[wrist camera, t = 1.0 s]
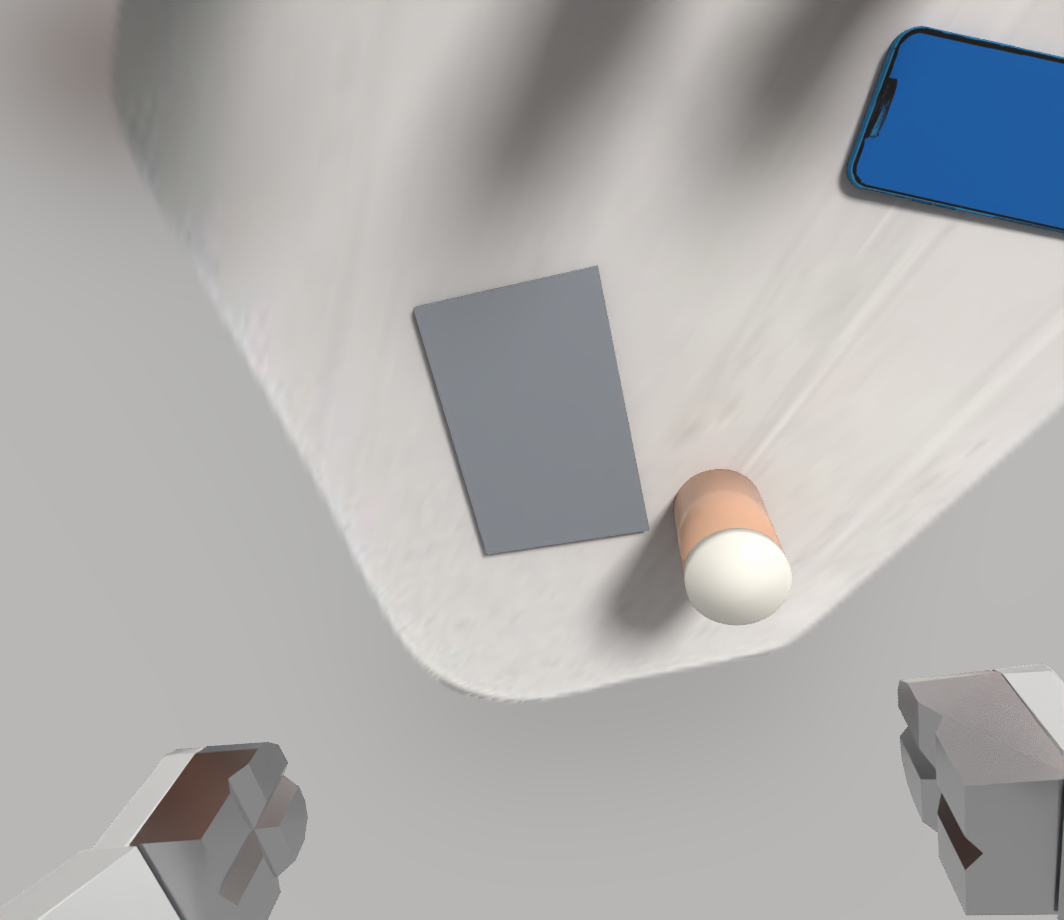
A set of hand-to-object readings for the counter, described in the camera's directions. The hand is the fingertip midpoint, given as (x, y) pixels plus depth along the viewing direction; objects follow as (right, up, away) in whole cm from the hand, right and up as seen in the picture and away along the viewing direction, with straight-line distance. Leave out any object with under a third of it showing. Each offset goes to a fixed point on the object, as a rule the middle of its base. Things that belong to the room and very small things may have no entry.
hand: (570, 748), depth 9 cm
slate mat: (0, +6, +35) cm, 35 cm away
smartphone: (+24, +20, +26) cm, 41 cm away
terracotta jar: (+11, +1, +36) cm, 38 cm away
